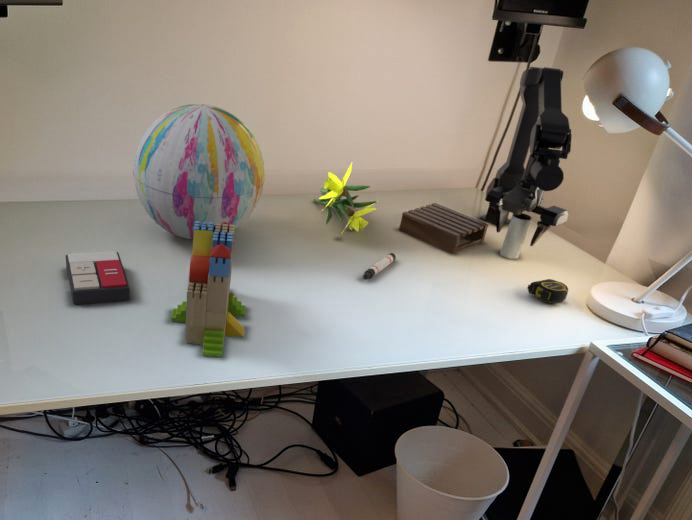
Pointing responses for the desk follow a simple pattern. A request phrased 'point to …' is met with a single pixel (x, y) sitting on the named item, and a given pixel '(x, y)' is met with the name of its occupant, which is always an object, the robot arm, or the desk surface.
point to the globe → (198, 169)
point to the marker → (379, 266)
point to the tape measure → (549, 290)
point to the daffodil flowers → (344, 200)
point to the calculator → (96, 277)
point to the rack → (442, 227)
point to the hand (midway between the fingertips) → (514, 238)
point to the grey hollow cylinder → (515, 235)
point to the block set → (211, 290)
